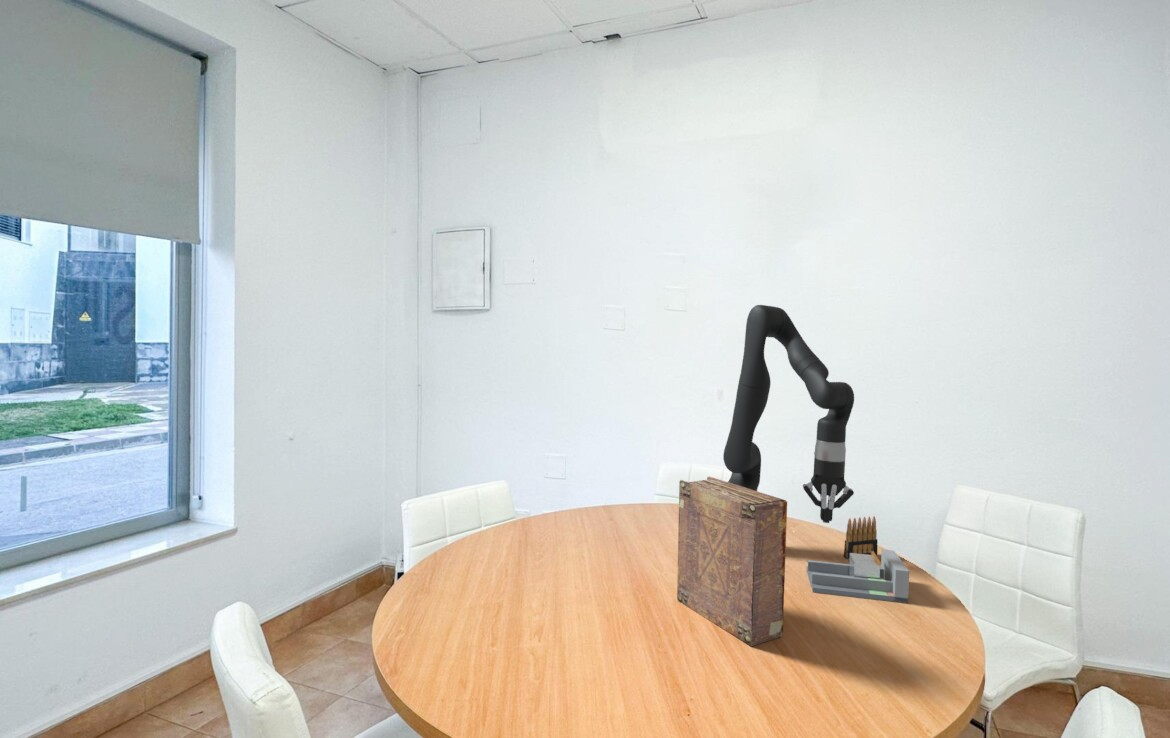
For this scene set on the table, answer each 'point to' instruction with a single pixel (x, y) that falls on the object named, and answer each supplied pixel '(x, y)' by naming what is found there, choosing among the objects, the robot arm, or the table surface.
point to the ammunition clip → (860, 537)
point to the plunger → (864, 565)
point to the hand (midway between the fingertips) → (826, 521)
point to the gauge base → (862, 580)
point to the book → (732, 557)
